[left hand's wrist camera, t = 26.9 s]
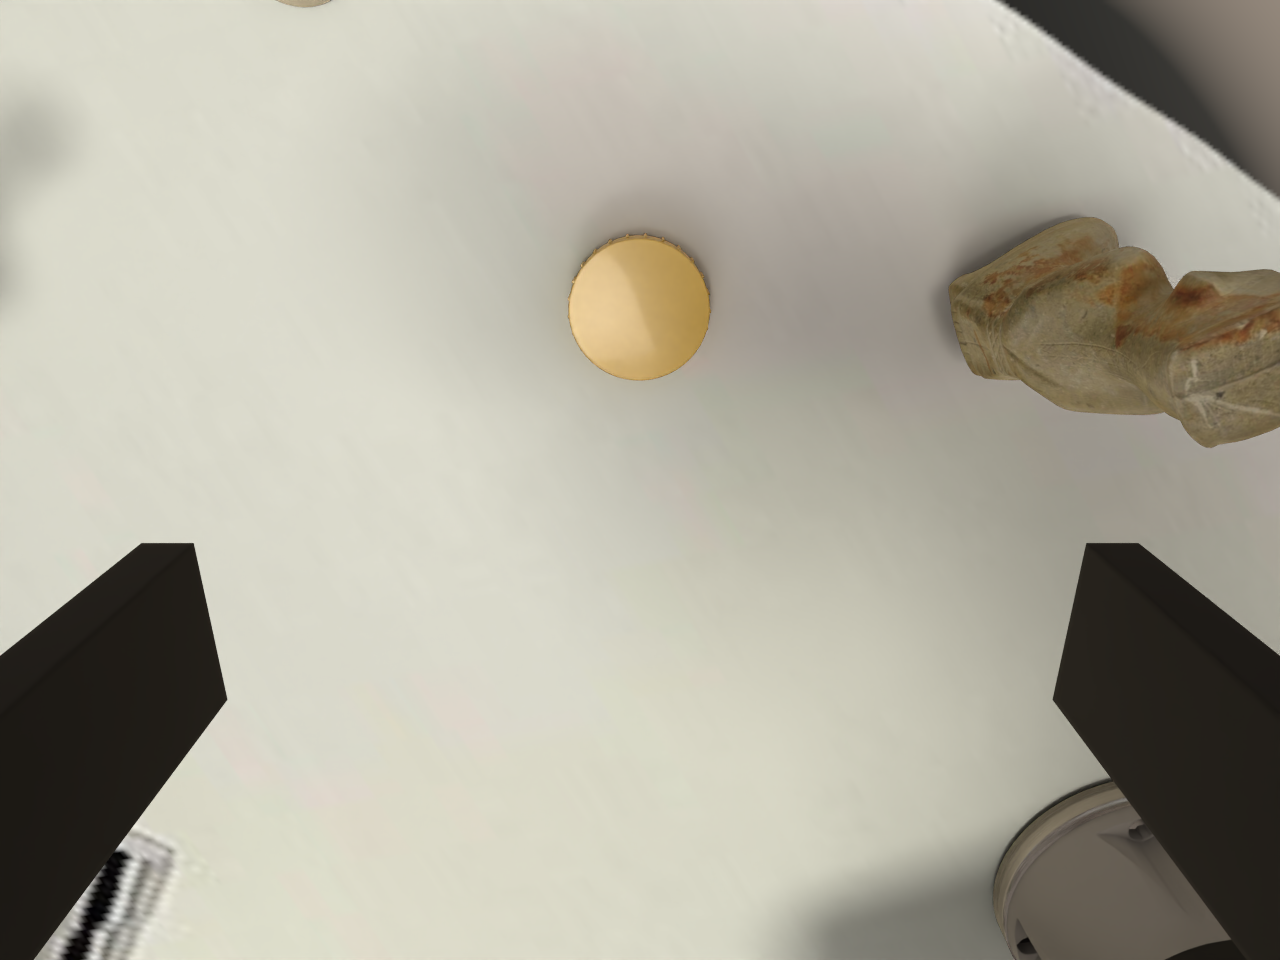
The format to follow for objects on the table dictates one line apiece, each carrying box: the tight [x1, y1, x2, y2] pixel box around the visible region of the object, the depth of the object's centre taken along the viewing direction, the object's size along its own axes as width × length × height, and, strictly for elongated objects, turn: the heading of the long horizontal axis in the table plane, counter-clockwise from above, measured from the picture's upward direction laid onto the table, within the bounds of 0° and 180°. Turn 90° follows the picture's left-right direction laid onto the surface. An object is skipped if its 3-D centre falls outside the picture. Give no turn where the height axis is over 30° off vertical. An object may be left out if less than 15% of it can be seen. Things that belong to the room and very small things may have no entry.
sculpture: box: [949, 217, 1280, 448], centre depth 29 cm, size 6×7×15 cm
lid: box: [568, 233, 711, 380], centre depth 36 cm, size 6×6×2 cm
